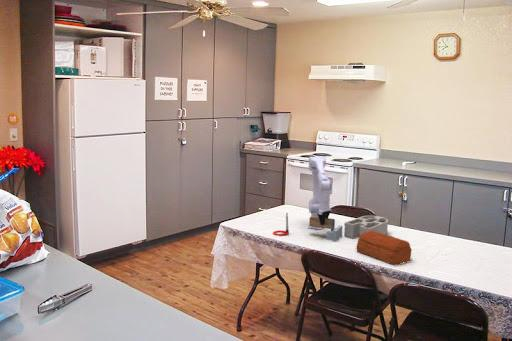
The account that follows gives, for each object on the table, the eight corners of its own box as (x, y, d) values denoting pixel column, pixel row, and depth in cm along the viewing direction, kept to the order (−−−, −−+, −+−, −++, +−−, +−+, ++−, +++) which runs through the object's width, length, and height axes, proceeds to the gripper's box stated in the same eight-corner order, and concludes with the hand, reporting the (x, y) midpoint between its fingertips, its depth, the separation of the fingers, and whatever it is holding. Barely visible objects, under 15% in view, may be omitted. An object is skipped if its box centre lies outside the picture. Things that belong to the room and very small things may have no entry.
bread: (394, 266, 236) (396, 245, 234) (353, 251, 257) (354, 232, 255) (414, 260, 245) (415, 240, 243) (372, 246, 266) (373, 227, 264)
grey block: (332, 234, 286) (332, 224, 285) (342, 235, 283) (342, 226, 282) (325, 239, 275) (326, 229, 274) (335, 241, 272) (336, 231, 271)
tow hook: (272, 236, 281) (288, 236, 281) (272, 214, 279) (288, 214, 279) (273, 232, 290) (288, 232, 289) (272, 211, 287) (288, 211, 287)
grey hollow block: (343, 237, 282) (344, 222, 280) (367, 227, 302) (368, 214, 301) (368, 243, 271) (369, 228, 269) (392, 233, 291) (393, 219, 290)
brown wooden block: (311, 224, 286) (311, 216, 285) (334, 227, 280) (334, 219, 279) (309, 225, 283) (309, 217, 282) (332, 229, 276) (332, 220, 276)
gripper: (327, 204, 270) (326, 227, 272) (335, 199, 283) (334, 221, 285) (315, 203, 273) (314, 226, 276) (323, 198, 286) (322, 220, 288)
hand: (323, 223), depth 281 cm, fingers closed on brown wooden block, 4 cm apart
